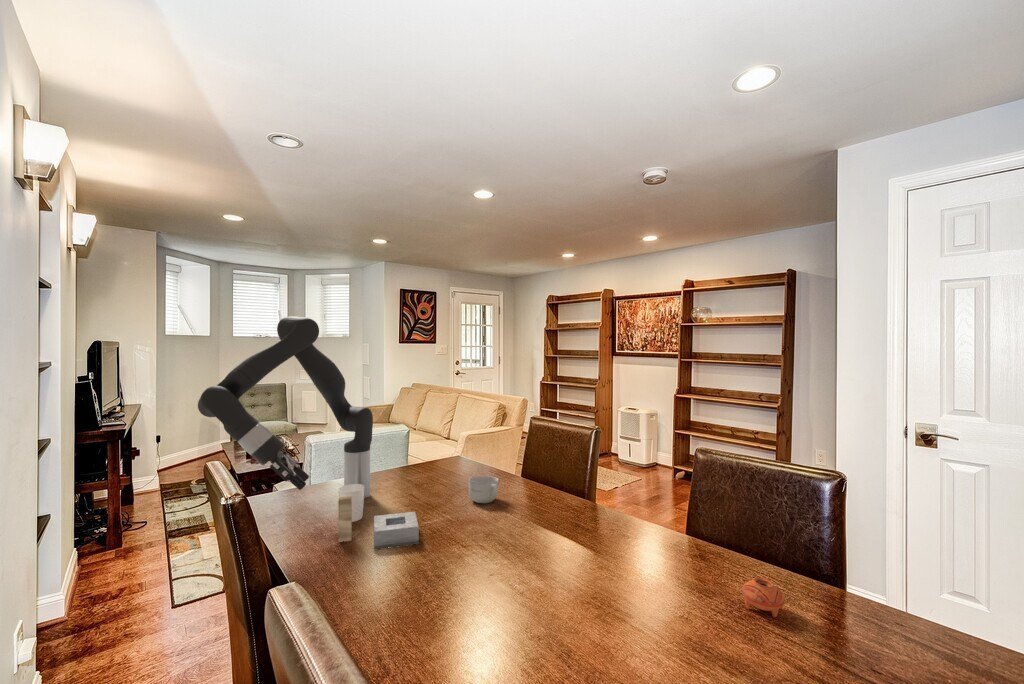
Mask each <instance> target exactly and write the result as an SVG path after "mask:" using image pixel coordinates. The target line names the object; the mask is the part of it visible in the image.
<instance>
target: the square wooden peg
mask: <svg viewBox="0 0 1024 684" xmlns="http://www.w3.org/2000/svg"><path fill="white" fill-rule="evenodd" d="M337 504H338V505H337V506H338V543H343V541H344V542H349V541H350V542H351V541H352V536H353V532H352V531H353V530H352V529H353V527H352V526H353V525H352V523H353V522H352V495H347V496H339V495H338V503H337Z"/></svg>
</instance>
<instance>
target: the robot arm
mask: <svg viewBox="0 0 1024 684" xmlns="http://www.w3.org/2000/svg"><path fill="white" fill-rule="evenodd" d="M276 332H277V336H278V338H279V340H280V341H278V342H276V343H275V344H273V345H271V346H270V347H267V348H265V349H263V350H261V351H258V352H256V353H255V354H253V355H251V356H249V357H247V358H246V359H244V360H243V361H242V362H240V363H239V364H238V365H237V366H235V367H234V368H233V369H232V370H230V372H229V373H227V375H226V376H225V377H224V379H223V380H221V381H220V382H219V383H217V384H216V385H213V386H209V387H207V388H206V389H205V390H203V392H202V394H200V397H199V399H198V402H197V409H198V411H199V413H200V414H201V415H202V416H204V417H207V418H216V419H218V421H219V422H221V424H222V425H223V426H222V427H223V429H224V431H225V433H227V434H228V435H229V437H231V438H232V439H233V440H235V442H237V443H238V444H239V445H240V446H241V448H243V450H245V452H247V453H248V454H249V455H250V456H251V457H252V458H253V459H254V460H255V461H256V462H258V463H259V465H260V466H261V465H262V466H265V465H266V464H267V463H268V462H270V463H271V464H270V465H269V467H270V469H271V470H273V471H274V472H275V474H276V475H278V476H279V477H280V478H281V479H282V480H283V481H284V482H290V484H292V485H293V486H295V488H297V489H298V490H299V491H300V490H302V489H304V488H305V487H306V485H307V483H306V481H307V480H308V479H309V478H310V476H309V474H308V473H306V472H305V471H304V470H303V469H302V468H301V466H300V463H299V462H298V461H297V460H296V459H294V458H293V457H292V456H291V454H289V453H288V452H287V451H286V450H283V451H282V449H284V447H285V445H286V444H285V443H284V442H283V441H282V440H280V439H279V438H278V437H277V436H276V435H275V434H274V433H273V432H272V431H271V430H269V428H268V427H266V426H265V425H263V424H262V423H260V422H259V421H258V420H257V419H256V418H255V417H254V416H253V415H252V414H250V413H249V412H248V411H247V410H246V409H245V407H244V405H243V404H242V403H241V402H240V400H239V399H240V398H242V396H243V395H244V394H245V393H247V392H248V391H250V390H251V389H252V388H253V387H254V386H256V385H257V384H258V383H260V381H262V380H263V379H264V378H265V377H267V375H269V374H270V373H271V372H273V371H274V370H275V369H276V368H278V367H279V366H281V365H282V364H284V363H285V362H286V361H288V360H290V358H293V357H295V359H296V360H297V361H298V362H299V364H300V365H301V367H302V368H303V370H304V371H305V373H306V374H307V376H308V377H309V379H310V380H311V382H312V383H313V385H314V386H315V387H316V389H317V390H318V392H319V393H320V394H321V395H322V397H323V398H324V400H325V402H326V403H327V405H328V406H329V407H330V409H331V412H332V413H333V416H334V417H335V419H336V422H337V423H338V425H339V426H340V427H341V429H342V430H343V431H345V432H346V431H347V432H352V433H354V438H353V439H352V440H349V441H347V442H345V443H344V445H343V460H344V461H343V475H344V476H343V479H344V480H343V486H345V485H350V484H361V485H364V500H365V499H367V497H368V498H369V497H371V445H372V440H373V430H374V429H373V427H374V418H373V417H374V416H373V412H372V410H371V408H368V407H366V406H353V405H351V404H350V402H349V401H348V400H347V398H346V397H345V393H346V392H345V390H346V380H345V378H344V376H343V374H342V372H341V371H340V369H339V368H338V366H337V365H336V363H335V362H334V361H333V360H331V359H330V358H329V357H328V356H326V355H325V354H324V353H323V352H321V351H320V350H319V348H317V347H316V346H315V345H314V343H315V342H316V341H317V340H318V338H319V335H320V327H319V325H318V323H317V322H316V321H315V320H314V319H312V318H309V317H304V316H295V315H294V316H291V315H290V316H285V317H283V318H281V319H280V320H279V321H278V323H277V327H276Z"/></svg>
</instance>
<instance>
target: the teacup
mask: <svg viewBox="0 0 1024 684" xmlns="http://www.w3.org/2000/svg"><path fill="white" fill-rule="evenodd" d="M498 494H499V478H498V477H495V476H492V475H491V476H490V475H475V476H471V477H469V478H468V496H469V498H470V499H471V500H473V502H475V503H477V504H488V503H492V502H493V501H494V500H495V499H496V498H497V496H498Z"/></svg>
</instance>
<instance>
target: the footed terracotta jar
mask: <svg viewBox="0 0 1024 684" xmlns="http://www.w3.org/2000/svg"><path fill="white" fill-rule="evenodd" d="M741 592H742V595H743V597H744V605H745V607H746V609H748V610H750V607H751V605H752V606H754V607H755V608H757V609H759V610H762V611H766V612H767V611H768V612H771V614H772V618H776V617H778V614H779V610H780V609H781V608H782V607H783V606H784V605H785V602H786V598H785V596H784V594H783V593H782V591H781V590H780V589H779V588H778V587H777V586H776V585H774V583H773V582H772V581H770V580H769V579H765V578H762V577H755V578H753V579H749V580H747V581H746V582H745V583H744V584H743V585H742V587H741Z"/></svg>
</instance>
